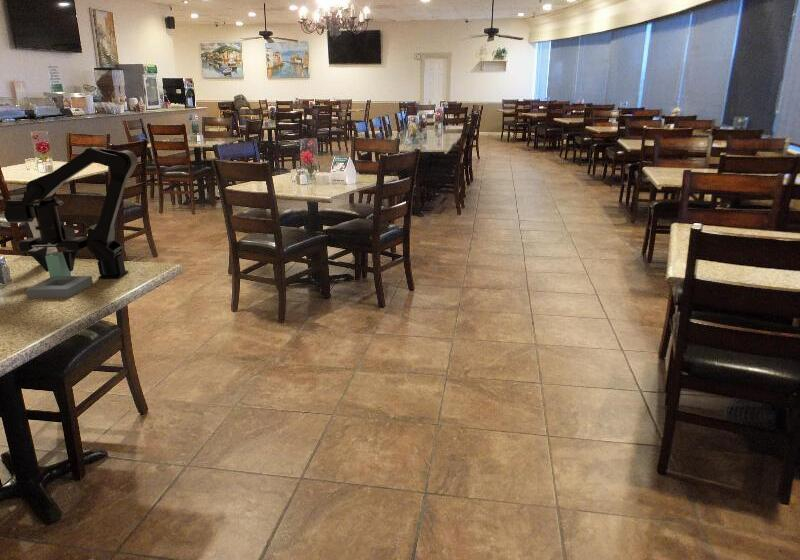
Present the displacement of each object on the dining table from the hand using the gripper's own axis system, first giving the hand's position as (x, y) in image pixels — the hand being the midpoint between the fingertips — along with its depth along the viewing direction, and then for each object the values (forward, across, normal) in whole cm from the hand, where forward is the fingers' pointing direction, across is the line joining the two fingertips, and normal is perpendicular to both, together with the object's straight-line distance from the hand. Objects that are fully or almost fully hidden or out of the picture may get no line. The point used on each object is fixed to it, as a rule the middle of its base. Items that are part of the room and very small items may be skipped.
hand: (59, 271), depth 176 cm
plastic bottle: (+3, +15, -17) cm, 23 cm away
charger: (+3, 0, 0) cm, 3 cm away
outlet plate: (+2, -7, +11) cm, 13 cm away
